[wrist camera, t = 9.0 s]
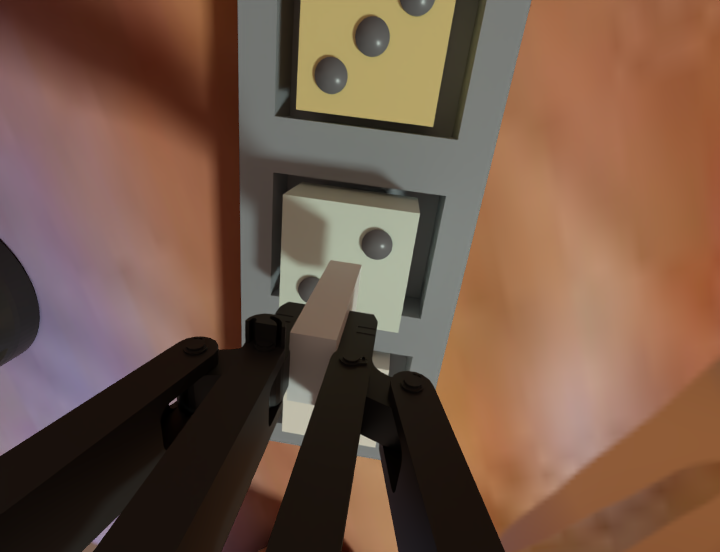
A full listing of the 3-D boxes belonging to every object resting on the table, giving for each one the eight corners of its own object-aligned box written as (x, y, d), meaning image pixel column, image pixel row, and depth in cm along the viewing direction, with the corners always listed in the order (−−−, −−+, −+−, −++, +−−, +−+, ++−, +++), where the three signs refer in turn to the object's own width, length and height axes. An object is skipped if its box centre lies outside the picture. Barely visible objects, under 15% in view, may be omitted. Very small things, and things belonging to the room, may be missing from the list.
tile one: (296, 394, 32) (281, 433, 28) (300, 323, 29) (284, 355, 25) (378, 408, 31) (375, 449, 27) (391, 337, 29) (389, 372, 25)
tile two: (296, 285, 26) (277, 315, 22) (302, 181, 23) (281, 195, 19) (399, 301, 25) (398, 334, 21) (417, 197, 22) (420, 214, 19)
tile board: (260, 401, 34) (242, 435, 30) (266, -89, 20) (235, -133, 17) (415, 427, 33) (416, 466, 30) (528, -62, 20) (556, -103, 16)
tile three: (313, 110, 23) (295, 109, 19) (322, -33, 20) (302, -67, 16) (428, 125, 23) (433, 127, 19) (453, -19, 20) (465, -51, 16)
